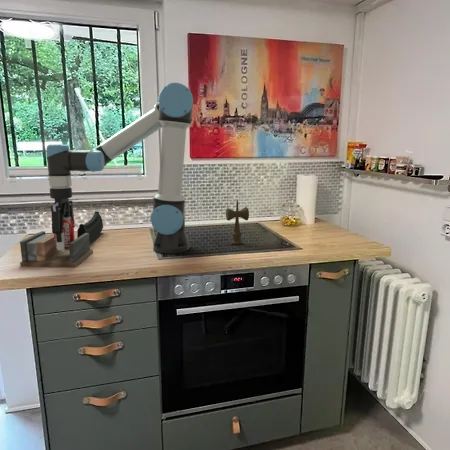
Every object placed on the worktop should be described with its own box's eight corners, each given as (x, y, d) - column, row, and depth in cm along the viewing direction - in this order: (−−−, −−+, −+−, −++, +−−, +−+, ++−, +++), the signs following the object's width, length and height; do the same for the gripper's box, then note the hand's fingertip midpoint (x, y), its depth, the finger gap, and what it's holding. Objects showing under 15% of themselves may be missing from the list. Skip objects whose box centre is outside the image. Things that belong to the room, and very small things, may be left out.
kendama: (249, 245, 168) (250, 200, 163) (228, 246, 165) (228, 201, 161) (244, 241, 173) (245, 198, 169) (224, 242, 171) (225, 199, 166)
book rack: (93, 252, 154) (91, 231, 152) (75, 267, 136) (73, 243, 134) (44, 252, 154) (41, 230, 152) (20, 266, 136) (17, 242, 134)
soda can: (79, 247, 146) (77, 216, 143) (66, 251, 140) (63, 220, 137) (64, 245, 148) (62, 215, 146) (51, 249, 142) (48, 218, 139)
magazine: (82, 230, 152) (99, 197, 179) (73, 230, 152) (92, 197, 179) (88, 266, 161) (104, 229, 188) (80, 266, 161) (97, 229, 187)
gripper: (62, 183, 149) (66, 240, 154) (37, 190, 129) (43, 254, 134) (81, 184, 149) (84, 240, 154) (59, 190, 129) (64, 255, 134)
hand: (65, 247), depth 144 cm, fingers closed on soda can, 7 cm apart
